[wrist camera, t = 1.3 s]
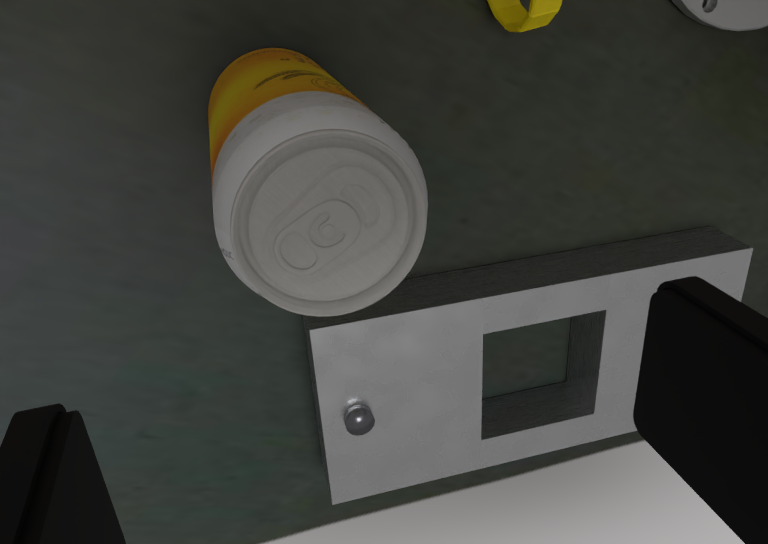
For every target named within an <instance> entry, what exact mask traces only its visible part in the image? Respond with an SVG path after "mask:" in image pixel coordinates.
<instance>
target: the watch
mask: <svg viewBox="0 0 768 544" xmlns="http://www.w3.org/2000/svg"><path fill="white" fill-rule="evenodd" d="M487 1H488V4H489V6H490V9H491V11H492V13H493V15H494V17H495V18H496V19H497V20H498V21H499V23H500V24H501V25H502V26H503V27H504V28H505V29H506V30H507V31H509V32H523V31H527V30H531V29H535V28H538V27H542V26H546V25H547V24H549V22H550V21H551V20H552V19H553V17H554V16H555V15H556V14H557V12H558V11H559V9H560V7H561V4H562V0H531V1H530V6H529V11H528V12H527V11H526V10H525V8H524V7H523V6H522V5H521V3H520V1H519V0H487Z"/></svg>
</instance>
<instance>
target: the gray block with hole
mask: <svg viewBox="0 0 768 544" xmlns="http://www.w3.org/2000/svg"><path fill="white" fill-rule="evenodd" d="M752 251H753V247H751V246H749V245H747V244H745V243H743V242H741V241H739V240H737V239H735V238H733V237H731V236H729V235H727V234H725V233H723V232H722V231H720V230H718V229H716V228H714V227H712V226H707V227H702V228H696V229H690V230H685V231H679V232H673V233H667V234H662V235H656V236H650V237H645V238H639V239H633V240H627V241H622V242H616V243H610V244H605V245H599V246H593V247H587V248H582V249H576V250H570V251H565V252H559V253H553V254H547V255H542V256H536V257H530V258H525V259H519V260H513V261H507V262H502V263H496V264H490V265H485V266H479V267H473V268H467V269H462V270H456V271H450V272H445V273H439V274H433V275H427V276H422V277H416V278H410V279H404V280H402V281H401V282H400V283H399V285H398V286H397V287H395V288H394V289H393V290H392V291H391V292H390V293H389V294H387V295H386V296H384V297H383V298H382V299H380V300H378V301H377V302H375V303H373V304H372V305H369V306H367V307H365V308H363V309H360V310H357V311H355V312H352V313H347V314H343V315H337V316H325V317H318V316H308V315H302V317H303V325H304V332H305V339H306V347H307V354H308V361H309V369H310V376H311V383H312V391H313V398H314V405H315V413H316V420H317V427H318V435H319V442H320V449H321V457H322V464H323V468H324V472H325V476H326V480H327V484H328V488H329V492H330V497H331V501H332V505H334V504H338V503H342V502H346V501H350V500H354V499H358V498H362V497H366V496H370V495H375V494H379V493H383V492H387V491H391V490H395V489H399V488H403V487H407V486H411V485H416V484H420V483H424V482H428V481H432V480H436V479H440V478H444V477H448V476H452V475H456V474H461V473H465V472H469V471H473V470H477V469H481V468H485V467H489V466H493V465H497V464H502V463H506V462H510V461H514V460H518V459H522V458H526V457H530V456H534V455H538V454H542V453H547V452H551V451H555V450H559V449H563V448H567V447H571V446H575V445H579V444H583V443H588V442H592V441H596V440H600V439H604V438H608V437H612V436H616V435H620V434H624V433H628V432H633V431H637V429H636V427H635V424H634V420H633V410H634V404H635V397H636V390H637V384H638V377H639V370H640V364H641V357H642V350H643V344H644V337H645V330H646V324H647V317H648V310H649V304H650V299H651V296H652V295H653V293H655V292H657V288H658V287H659V286H660V284H661V283H663V282H665V281H670V280H675V279H680V278H685V277H690V276H697V277H700V278H702V279H704V280H705V281H707V282H709V283H710V284H712V285H713V286H715V287H717V288H718V289H720V290H722V291H723V292H725V293H727V294H728V295H730V296H732V297H733V298H735V299H737V300H738V301H740V302H741V299H742V295H743V290H744V286H745V282H746V277H747V273H748V269H749V264H750V260H751V255H752ZM567 317H571V328H570V339H569V350H568V361H567V373H566V381H565V382H560V383H556V384H551V385H547V386H542V387H538V388H533V389H529V390H524V391H520V392H515V393H510V394H506V395H501V396H497V397H492V398H488V399H483V400H482V359H483V334H486V333H491V332H496V331H501V330H506V329H511V328H516V327H521V326H526V325H531V324H536V323H541V322H546V321H552V320H557V319H562V318H567Z"/></svg>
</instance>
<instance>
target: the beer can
mask: <svg viewBox="0 0 768 544" xmlns="http://www.w3.org/2000/svg"><path fill="white" fill-rule="evenodd" d="M208 120H209V139H210V159H211V178H212V197H213V216H214V227H215V233H216V238H217V241H218V244H219V247H220V249H221V252H222V254H223V256H224V258H225V260H226V261H227V263H228V265H229V266H230V268H231V269H232V270H233V272H234V273H235V274H236V275H237V276H238V278H239V279H240V280H241V281H242V282H243V283H245V284H246V285H247V286H248V287H249V288H250V289H252V290H253V291H254V292H256V293H257V294H259V295H261V296H262V297H264V298H266V299H267V300H269V301H270V302H272V303H273V304H275V305H277V306H279V307H281V308H283V309H286V310H288V311H291V312H294V313H298V314H302V315H308V316H318V317H325V316H337V315H343V314H347V313H352V312H355V311H357V310H360V309H363V308H365V307H367V306H369V305H372V304H373V303H375V302H377V301H378V300H380V299H382V298H383V297H384V296H386V295H387V294H389V293H390V292H391V291H392V290H393V289H394V288H395V287H397V286H398V285H399V283H400V282H401V281H402V280H403V279H404V278H405V277H406V275H407V274H408V273H409V271H410V270H411V268H412V267H413V265H414V263H415V262H416V260H417V257H418V255H419V253H420V251H421V248H422V245H423V242H424V237H425V232H426V223H427V210H428V194H427V187H426V181H425V178H424V174H423V171H422V168H421V166H420V164H419V161H418V159H417V158H416V156H415V154H414V152H413V151H412V149H411V148H410V147H409V145H408V144H407V143H406V141H405V140H404V139H403V138H402V137H401V136H400V135H399V134H398V133H397V132H396V131H395V130H394V129H393V128H391V127H390V126H389V125H388V124H387V123H385V122H384V121H383V120H382V119H381V118H380V117H378V116H377V115H376V114H375V113H374V112H373V111H371V110H370V109H369V108H368V107H367V106H366V105H364V104H363V103H362V102H361V101H360V100H359V99H357V98H356V97H355V96H354V95H353V94H352V93H350V92H349V91H348V90H347V89H346V88H345V87H343V86H342V85H341V84H340V83H339V82H338V81H336V80H335V79H334V78H333V77H332V76H331V75H329V74H328V73H327V72H326V71H325V70H324V69H322V68H321V67H320V66H319V65H318V64H316V63H315V62H314V61H313V60H311V59H310V58H308V57H306V56H304V55H302V54H300V53H298V52H295V51H292V50H288V49H283V48H264V49H258V50H255V51H251V52H249V53H247V54H244V55H243V56H241V57H239V58H237V59H236V60H235V61H233V62H232V63H231V64H230V65H229V66H228V67H227V68H226V69H225V70H224V71H223V72H222V73H221V75H220V76H219V78H218V79H217V81H216V83H215V85H214V87H213V89H212V92H211V96H210V100H209V107H208Z"/></svg>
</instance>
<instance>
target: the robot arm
mask: <svg viewBox="0 0 768 544" xmlns="http://www.w3.org/2000/svg"><path fill="white" fill-rule="evenodd" d="M671 1H672V2H673V3H674V4H675V5H676V6H677V7H678V8H679V9H680V10H681V11H682V12H683V13H684V14H685V15H686V16H688V17H690V18H691V19H693V20H695V21H696V22H698V23H700V24H702V25H705V26H709V27H713V28H716V29H722V30H733V31H747V30H756V29H761V28H764V27H767V26H768V0H671ZM633 420H634V424H635V427H636V429H637V431H638V432H639V434H640V435H641V436H642V437H643V438H644V439H645V440H646V441H647V442H648V443H649V444H650V445H651V446H652V447H653V448H654V450H655V451H656V452H657V453H658V454H659V455H660V456H661V457H662V458H663V459H664V460H665V461H666V462H667V463H668V464H669V465H670V466H671V467H672V468H673V469H674V470H675V471H676V472H677V473H678V474H679V475H680V476H681V477H682V479H683V480H684V481H685V482H686V483H687V484H688V485H689V486H690V487H691V488H692V489H693V490H694V491H695V492H696V493H697V494H698V495H699V496H700V497H701V498H702V499H703V500H704V501H705V502H706V503H707V504H708V505H709V506H710V508H711V509H712V510H713V511H714V512H715V513H716V514H717V515H718V516H719V517H720V518H721V519H722V520H723V521H724V522H725V523H726V524H727V525H728V526H729V527H730V528H731V529H732V530H733V532H734V533H735V534H736V535H737V536H738V537H739V538H740V539H741V540H742V541H743V542H744V543H745V544H768V318H766V317H765V316H763V315H761V314H760V313H758V312H756V311H755V310H753V309H751V308H750V307H748V306H746V305H745V304H743V303H741V302H740V301H738V300H737V299H735V298H733V297H732V296H730V295H728V294H727V293H725V292H723V291H722V290H720V289H718V288H717V287H715V286H713V285H712V284H710V283H709V282H707V281H705V280H704V279H702V278H700V277H697V276H690V277H685V278H680V279H675V280H670V281H665V282H663V283H661V284H660V286H659V287H658V288H657V292H655V293H653V295H652V296H651V299H650V304H649V310H648V317H647V324H646V330H645V337H644V344H643V350H642V357H641V364H640V370H639V377H638V384H637V390H636V397H635V404H634V410H633ZM0 544H126V542H125V539H124V536H123V533H122V530H121V527H120V524H119V522H118V519H117V516H116V513H115V510H114V507H113V504H112V502H111V499H110V496H109V493H108V490H107V487H106V484H105V482H104V479H103V476H102V473H101V470H100V467H99V464H98V461H97V459H96V456H95V453H94V450H93V447H92V444H91V441H90V439H89V436H88V433H87V430H86V427H85V424H84V421H83V419H82V416H81V414H80V413H79V411H71V412H66V409H65V408H64V407H63V405H61V404H54V405H49V406H44V407H39V408H34V409H29V410H24V411H19V412H17V413H15V414H14V416H13V417H12V419H11V422H10V424H9V427H8V429H7V432H6V434H5V437H4V439H3V442H2V444H1V447H0Z"/></svg>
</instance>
